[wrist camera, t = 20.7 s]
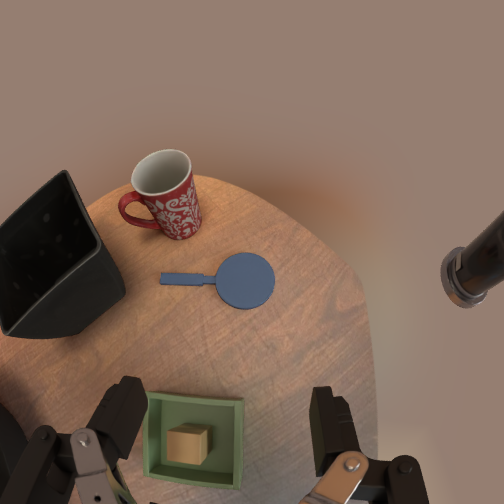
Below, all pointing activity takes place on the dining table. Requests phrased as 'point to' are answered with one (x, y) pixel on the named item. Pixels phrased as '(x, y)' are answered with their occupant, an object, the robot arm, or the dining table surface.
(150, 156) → the mug
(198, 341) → the dining table surface
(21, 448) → the bowl
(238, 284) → the blue ping pong paddle
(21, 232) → the flower pot
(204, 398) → the green storage bin
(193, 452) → the wooden block
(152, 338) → the dining table surface
